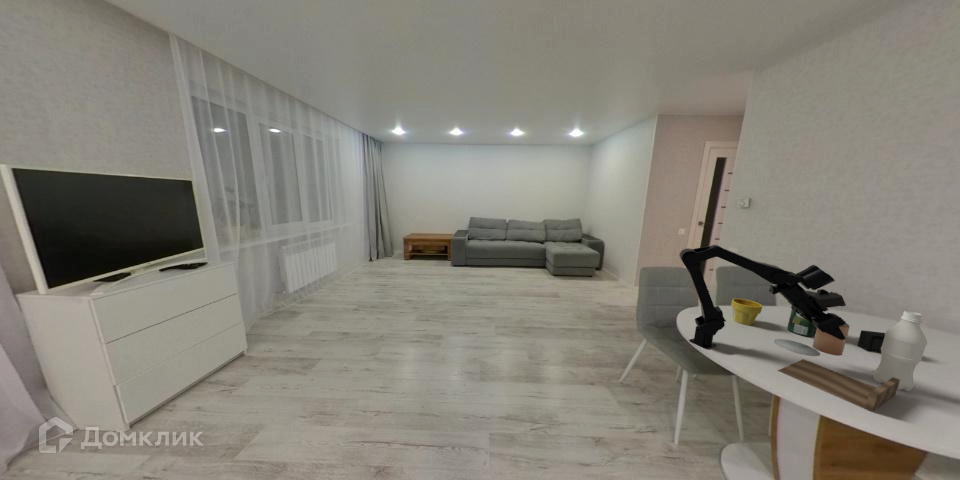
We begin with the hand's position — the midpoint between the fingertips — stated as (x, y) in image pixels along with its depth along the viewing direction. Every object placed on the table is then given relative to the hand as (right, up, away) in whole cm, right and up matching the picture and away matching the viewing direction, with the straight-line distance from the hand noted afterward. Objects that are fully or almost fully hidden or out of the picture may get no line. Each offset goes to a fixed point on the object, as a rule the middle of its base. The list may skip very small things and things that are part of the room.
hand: (837, 334), depth 93 cm
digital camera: (+36, -12, +15) cm, 41 cm away
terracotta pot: (-1, -6, +2) cm, 6 cm away
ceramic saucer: (+4, -11, +16) cm, 19 cm away
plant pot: (+5, -7, +38) cm, 39 cm away
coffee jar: (+22, -9, +29) cm, 38 cm away
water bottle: (+10, -15, -5) cm, 19 cm away
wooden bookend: (-8, -14, -4) cm, 17 cm away
